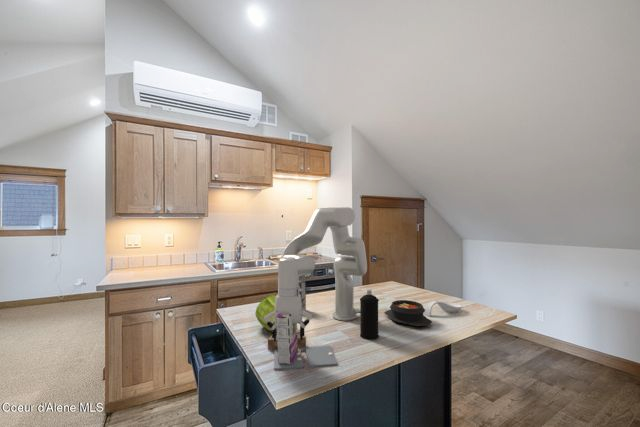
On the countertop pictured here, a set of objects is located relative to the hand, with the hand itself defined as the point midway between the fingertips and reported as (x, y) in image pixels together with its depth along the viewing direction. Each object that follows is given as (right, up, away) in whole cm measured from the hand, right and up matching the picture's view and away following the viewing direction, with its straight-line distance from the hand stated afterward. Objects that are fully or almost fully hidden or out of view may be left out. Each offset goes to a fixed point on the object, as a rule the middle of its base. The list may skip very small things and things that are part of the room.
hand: (288, 338), depth 103 cm
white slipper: (+79, -9, +51) cm, 95 cm away
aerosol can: (+33, -8, +20) cm, 40 cm away
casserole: (+56, -9, +39) cm, 68 cm away
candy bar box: (0, -7, 0) cm, 7 cm away
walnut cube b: (-6, -8, +9) cm, 13 cm away
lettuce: (-7, -8, +26) cm, 28 cm away
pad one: (+12, -7, +2) cm, 14 cm away
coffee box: (-1, -9, +54) cm, 55 cm away
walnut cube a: (+3, -8, +11) cm, 13 cm away
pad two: (0, -7, 0) cm, 7 cm away
